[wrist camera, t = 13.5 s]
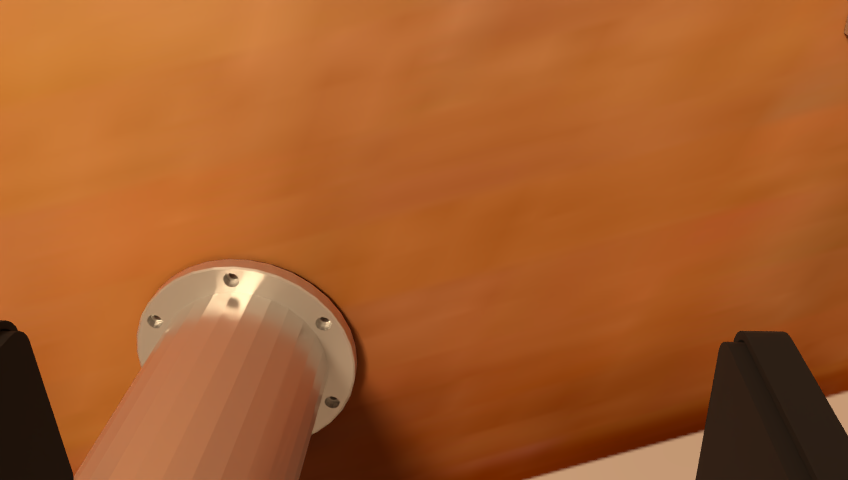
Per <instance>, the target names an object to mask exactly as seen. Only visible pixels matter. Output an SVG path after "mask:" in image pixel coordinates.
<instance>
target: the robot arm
mask: <svg viewBox="0 0 848 480" xmlns="http://www.w3.org/2000/svg"><path fill="white" fill-rule="evenodd" d="M137 353H138V357H139V361H140V365H141V370H140V371H139V373H138V375H137V376H136V378H135V379H134V381H133V383H132V384H131V386H130V387H129V389H128V391H127V392H126V394H125V396H124V397H123V399H122V400H121V402H120V404H119V405H118V407H117V408H116V410H115V412H114V413H113V415H112V416H111V418H110V420H109V421H108V423H107V424H106V426H105V428H104V429H103V431H102V432H101V434H100V436H99V437H98V439H97V440H96V442H95V444H94V445H93V447H92V448H91V450H90V452H89V453H88V455H87V456H86V458H85V460H84V461H83V463H82V464H81V466H80V468H79V469H78V471H77V473H76V474H75V476H74V477H73V472H72V469H71V466H70V463H69V460H68V457H67V454H66V451H65V448H64V445H63V442H62V439H61V436H60V433H59V430H58V427H57V424H56V420H55V417H54V414H53V411H52V408H51V405H50V402H49V399H48V396H47V393H46V390H45V387H44V384H43V381H42V378H41V375H40V372H39V369H38V366H37V362H36V359H35V356H34V353H33V350H32V347H31V344H30V341H29V339H28V337H27V335H26V334H25V333H24V332H20V331H18V330H17V328H16V326H15V325H14V324H13V323H12V322H9V321H2V320H0V480H299V477H300V474H301V470H302V466H303V463H304V459H305V456H306V452H307V449H308V445H309V442H310V438H311V435H312V434H314V433H316V432H318V431H320V430H321V429H322V428H324V427H325V426H327V425H328V424H329V423H331V422H332V421H333V420H334V419H335V418H336V417H337V415H338V414H339V413H340V412H341V411H342V410H343V408H344V406H345V405H346V403H347V401H348V399H349V397H350V395H351V392H352V388H353V385H354V381H355V376H356V369H357V354H356V346H355V343H354V339H353V336H352V333H351V330H350V328H349V326H348V325H347V323H346V321H345V319H344V318H343V316H342V314H341V312H340V311H339V310H338V309H337V308H336V307H335V305H334V304H333V303H332V302H331V301H330V300H329V298H328V297H327V296H325V295H324V294H323V293H322V292H321V291H319V290H318V289H317V288H316V287H315V286H313V285H312V284H311V283H309V282H307V281H306V280H304V279H302V278H300V277H299V276H297V275H295V274H294V273H292V272H289V271H286V270H284V269H281V268H279V267H276V266H273V265H270V264H266V263H261V262H256V261H252V260H237V259H225V260H216V261H208V262H205V263H201V264H198V265H195V266H192V267H189V268H187V269H185V270H183V271H181V272H180V273H178V274H176V275H174V276H173V277H171V278H170V279H169V280H168V281H167V282H166V283H165V284H163V285H162V286H161V287H160V288H159V289H158V291H157V292H156V293H155V295H154V296H153V297H152V299H151V300H150V302H149V303H148V304H147V306H146V308H145V310H144V312H143V314H142V316H141V318H140V323H139V327H138V332H137ZM696 480H848V435H847V434H846V432H845V430H844V428H843V427H842V425H841V423H840V422H839V420H838V418H837V416H836V415H835V413H834V411H833V409H832V408H831V406H830V405H829V403H828V401H827V399H826V397H825V396H824V394H823V392H822V390H821V389H820V387H819V385H818V384H817V382H816V380H815V378H814V377H813V375H812V373H811V371H810V370H809V368H808V366H807V365H806V363H805V361H804V359H803V358H802V356H801V354H800V353H799V351H798V349H797V347H796V346H795V344H794V342H793V340H792V339H791V337H790V336H789V335H788V334H787V333H786V332H775V331H740V332H738V333H737V334H736V336H735V338H734V342H723V343H722V344H721V346H720V348H719V352H718V358H717V363H716V369H715V374H714V380H713V386H712V391H711V397H710V402H709V408H708V413H707V419H706V425H705V430H704V436H703V442H702V447H701V452H700V458H699V464H698V469H697V475H696Z"/></svg>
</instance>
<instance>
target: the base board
mask: <svg viewBox="0 0 848 480" xmlns="http://www.w3.org/2000/svg"><path fill="white" fill-rule="evenodd" d="M844 33H845V34H847V35H848V17H847V22H846V26H845V31H844Z"/></svg>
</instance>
